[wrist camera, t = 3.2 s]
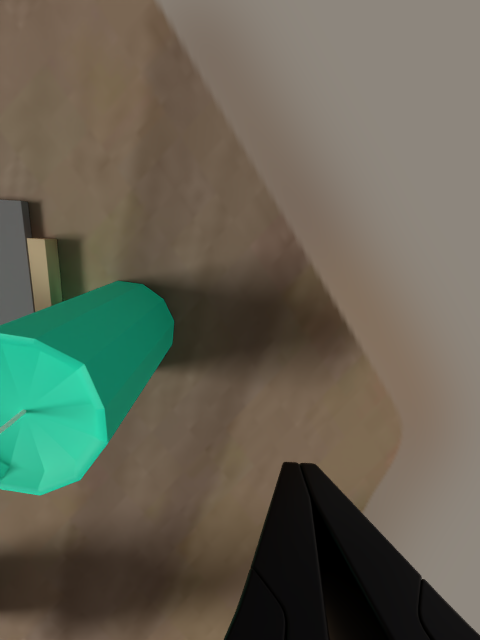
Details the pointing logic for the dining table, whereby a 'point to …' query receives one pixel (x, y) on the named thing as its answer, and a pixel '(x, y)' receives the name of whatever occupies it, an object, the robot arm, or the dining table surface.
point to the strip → (44, 272)
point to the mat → (15, 261)
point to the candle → (74, 381)
